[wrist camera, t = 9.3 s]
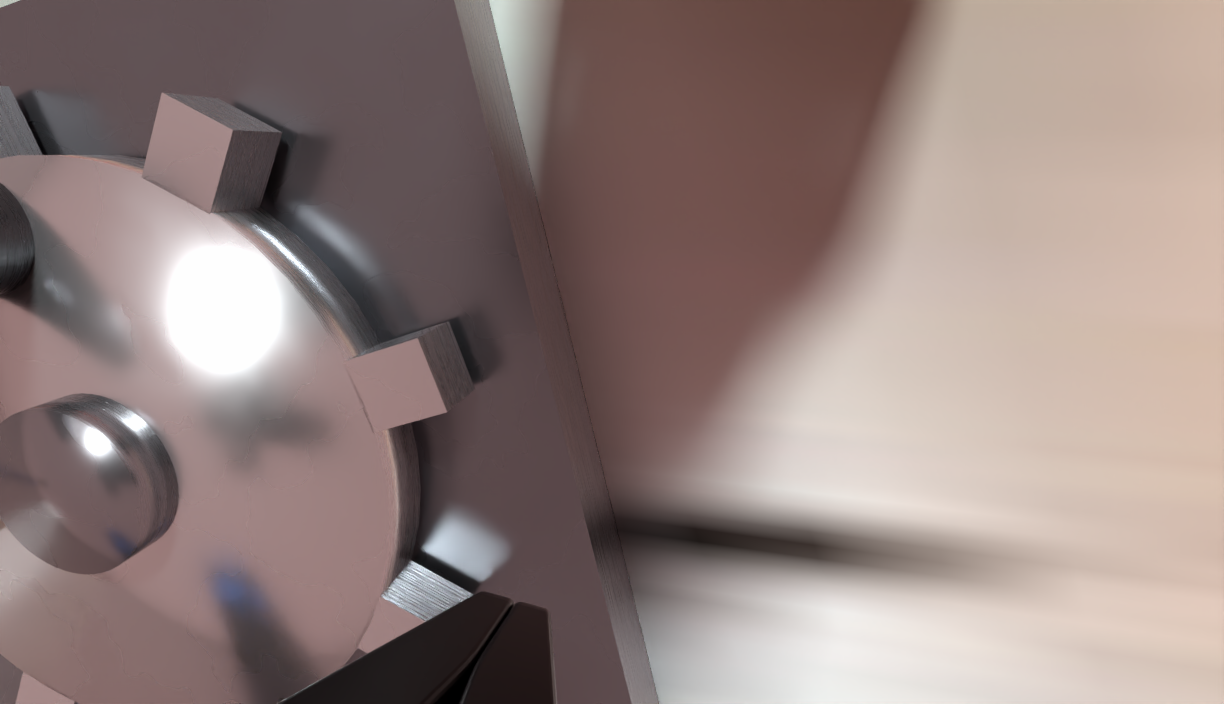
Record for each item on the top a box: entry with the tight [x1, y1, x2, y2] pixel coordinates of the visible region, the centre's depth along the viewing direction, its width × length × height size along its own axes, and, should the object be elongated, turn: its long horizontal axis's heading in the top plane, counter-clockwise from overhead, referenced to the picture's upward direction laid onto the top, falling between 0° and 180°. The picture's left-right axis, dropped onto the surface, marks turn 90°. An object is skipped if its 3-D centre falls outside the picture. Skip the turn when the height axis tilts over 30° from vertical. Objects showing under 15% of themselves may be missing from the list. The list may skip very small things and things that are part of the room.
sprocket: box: [0, 86, 475, 704], centre depth 17 cm, size 20×20×7 cm
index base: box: [0, 0, 659, 704], centre depth 20 cm, size 24×24×6 cm
